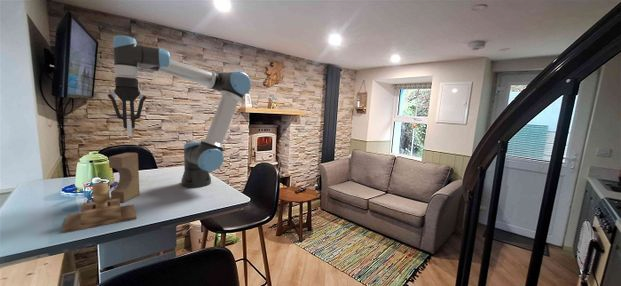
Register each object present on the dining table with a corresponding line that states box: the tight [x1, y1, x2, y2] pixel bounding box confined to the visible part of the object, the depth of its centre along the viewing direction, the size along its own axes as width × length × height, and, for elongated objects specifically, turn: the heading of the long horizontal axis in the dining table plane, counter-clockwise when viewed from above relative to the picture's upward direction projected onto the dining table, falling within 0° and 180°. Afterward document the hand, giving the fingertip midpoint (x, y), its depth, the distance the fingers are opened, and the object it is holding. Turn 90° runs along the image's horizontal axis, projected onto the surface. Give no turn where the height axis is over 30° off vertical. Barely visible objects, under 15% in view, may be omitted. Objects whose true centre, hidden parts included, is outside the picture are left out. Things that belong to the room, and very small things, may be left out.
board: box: [62, 198, 137, 234], centre depth 95 cm, size 20×14×5 cm
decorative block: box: [108, 152, 140, 204], centre depth 115 cm, size 11×6×20 cm, turn 179°
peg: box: [91, 182, 110, 208], centre depth 94 cm, size 4×4×12 cm
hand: (129, 136), depth 105 cm, fingers closed
